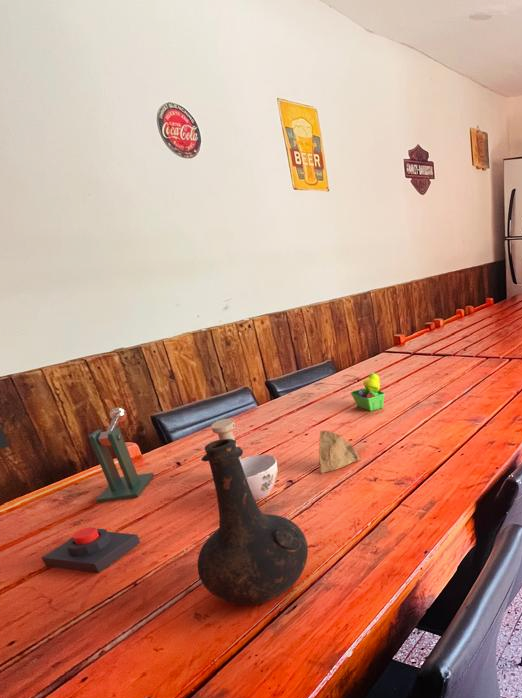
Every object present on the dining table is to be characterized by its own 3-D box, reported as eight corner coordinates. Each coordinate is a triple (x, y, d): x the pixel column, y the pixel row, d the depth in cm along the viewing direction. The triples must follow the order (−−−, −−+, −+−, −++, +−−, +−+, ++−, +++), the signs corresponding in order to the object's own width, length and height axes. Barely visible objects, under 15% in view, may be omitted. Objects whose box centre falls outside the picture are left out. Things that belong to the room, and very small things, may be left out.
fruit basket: (351, 406, 178) (346, 374, 173) (373, 399, 184) (368, 369, 179) (369, 413, 171) (364, 380, 166) (391, 406, 176) (386, 374, 171)
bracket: (117, 481, 133) (94, 425, 126) (154, 476, 135) (133, 420, 128) (97, 504, 123) (70, 444, 116) (138, 498, 124) (114, 438, 118)
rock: (361, 445, 141) (324, 444, 140) (359, 429, 133) (319, 427, 132) (358, 481, 136) (319, 479, 135) (355, 466, 128) (314, 465, 127)
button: (70, 544, 101) (66, 537, 100) (88, 533, 104) (85, 526, 103) (86, 546, 100) (83, 539, 99) (104, 535, 103) (101, 527, 102)
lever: (115, 417, 132) (109, 405, 130) (131, 415, 133) (124, 404, 130) (100, 449, 123) (93, 437, 120) (116, 447, 123) (109, 435, 121)
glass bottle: (283, 625, 82) (238, 471, 70) (185, 616, 85) (126, 467, 73) (331, 558, 98) (301, 423, 86) (247, 553, 101) (206, 421, 89)
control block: (45, 566, 100) (36, 549, 99) (90, 537, 109) (83, 522, 107) (98, 573, 98) (90, 556, 96) (140, 543, 106) (134, 527, 105)
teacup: (244, 482, 129) (235, 454, 125) (292, 482, 128) (285, 453, 125) (212, 514, 116) (202, 483, 112) (265, 513, 115) (257, 482, 111)
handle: (224, 483, 129) (207, 429, 122) (233, 472, 135) (217, 419, 128) (243, 482, 129) (228, 427, 123) (251, 470, 135) (236, 418, 128)
